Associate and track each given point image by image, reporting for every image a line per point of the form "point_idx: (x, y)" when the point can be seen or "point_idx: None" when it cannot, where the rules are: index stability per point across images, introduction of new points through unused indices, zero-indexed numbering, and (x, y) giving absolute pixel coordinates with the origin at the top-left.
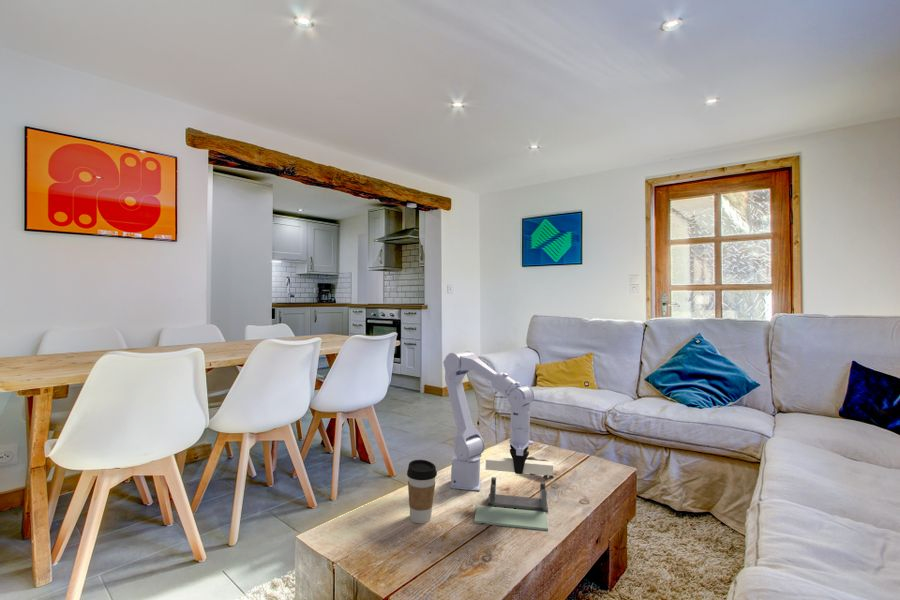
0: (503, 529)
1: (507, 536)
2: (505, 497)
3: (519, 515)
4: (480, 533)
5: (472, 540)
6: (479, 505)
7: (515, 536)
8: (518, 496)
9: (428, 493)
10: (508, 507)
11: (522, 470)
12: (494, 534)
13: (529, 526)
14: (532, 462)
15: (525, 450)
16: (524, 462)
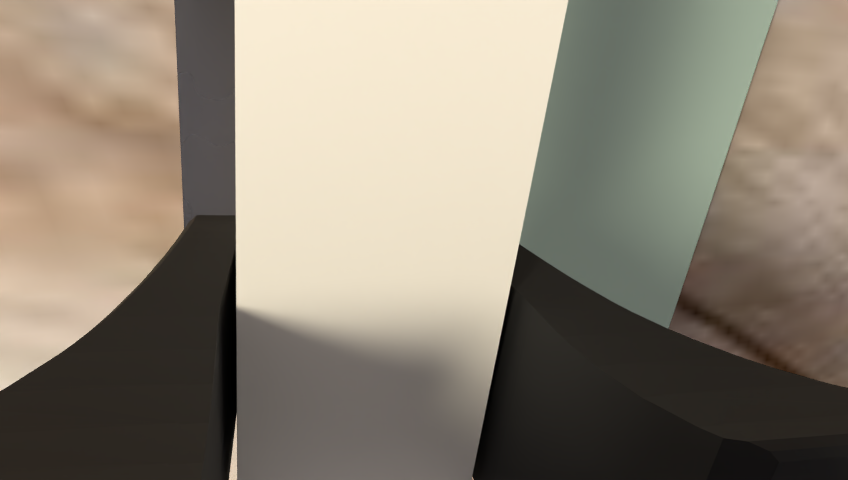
0: (740, 209)
1: (831, 181)
2: None
3: (584, 82)
4: (763, 345)
5: (825, 376)
6: None
7: (843, 125)
8: (177, 70)
9: None
10: None
11: None
12: (790, 265)
13: (775, 3)
14: (447, 79)
15: (206, 474)
16: (650, 328)
